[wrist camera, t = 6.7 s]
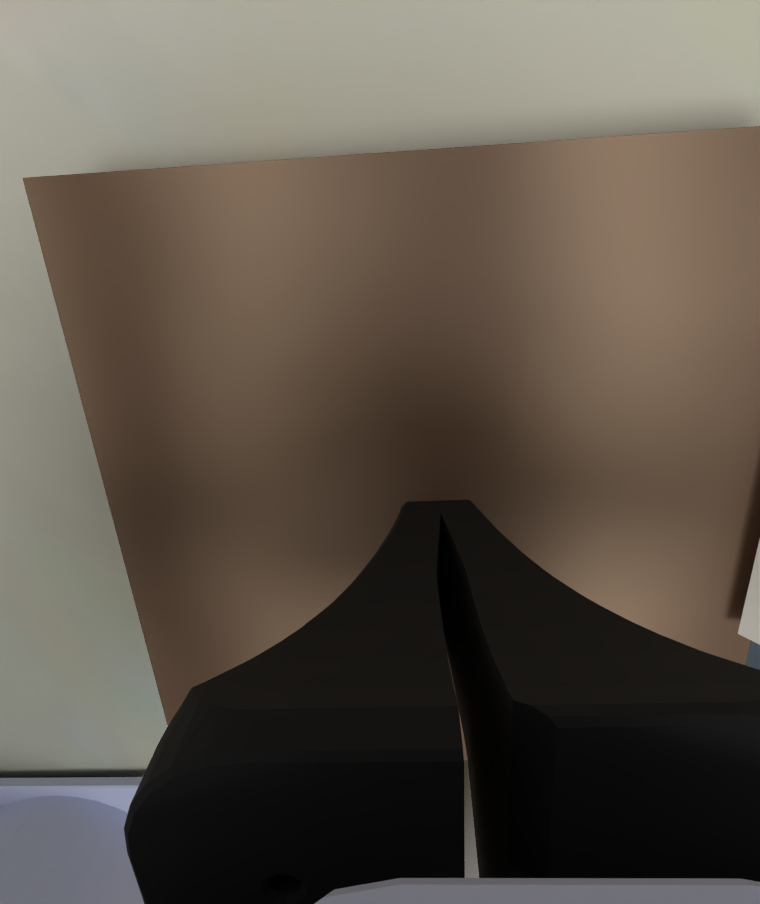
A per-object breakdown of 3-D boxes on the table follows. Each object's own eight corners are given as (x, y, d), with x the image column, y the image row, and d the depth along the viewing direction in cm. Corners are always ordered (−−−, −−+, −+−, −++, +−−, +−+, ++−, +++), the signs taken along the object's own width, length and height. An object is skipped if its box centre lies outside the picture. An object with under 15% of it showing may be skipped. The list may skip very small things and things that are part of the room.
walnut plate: (212, 678, 18) (177, 762, 15) (106, 186, 13) (22, 177, 10) (671, 670, 17) (723, 757, 14) (761, 142, 12) (870, 118, 9)
